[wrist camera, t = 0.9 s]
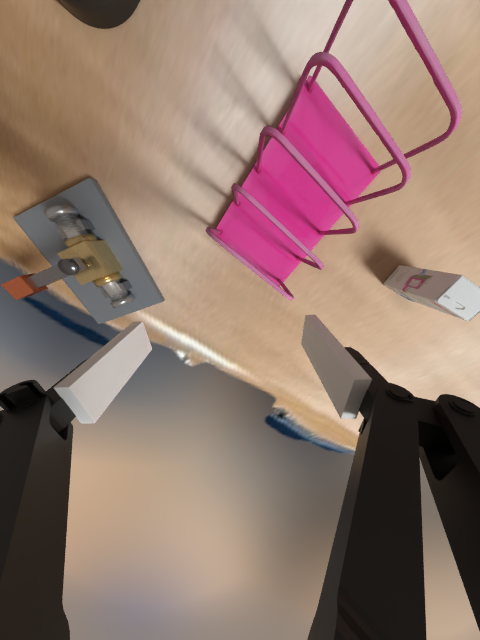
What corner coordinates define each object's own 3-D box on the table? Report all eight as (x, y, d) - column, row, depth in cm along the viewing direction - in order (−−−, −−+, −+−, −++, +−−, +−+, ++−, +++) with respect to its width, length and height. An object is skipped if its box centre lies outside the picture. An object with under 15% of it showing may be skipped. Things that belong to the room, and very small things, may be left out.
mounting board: (22, 218, 34) (12, 217, 32) (96, 180, 31) (89, 177, 29) (103, 321, 44) (98, 324, 42) (164, 299, 41) (162, 301, 39)
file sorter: (213, 233, 34) (193, 232, 20) (306, 83, 25) (384, -106, 11) (277, 285, 39) (297, 313, 25) (375, 172, 30) (493, 117, 16)
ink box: (427, 281, 38) (499, 299, 27) (408, 300, 40) (468, 323, 29) (399, 263, 36) (464, 274, 26) (381, 284, 38) (434, 302, 28)
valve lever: (81, 253, 30) (66, 255, 27) (93, 269, 31) (80, 273, 29) (19, 280, 32) (0, 284, 30) (32, 295, 33) (15, 300, 31)
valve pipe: (60, 218, 33) (27, 214, 28) (85, 205, 32) (55, 200, 27) (120, 303, 40) (102, 313, 35) (142, 295, 39) (127, 304, 34)
